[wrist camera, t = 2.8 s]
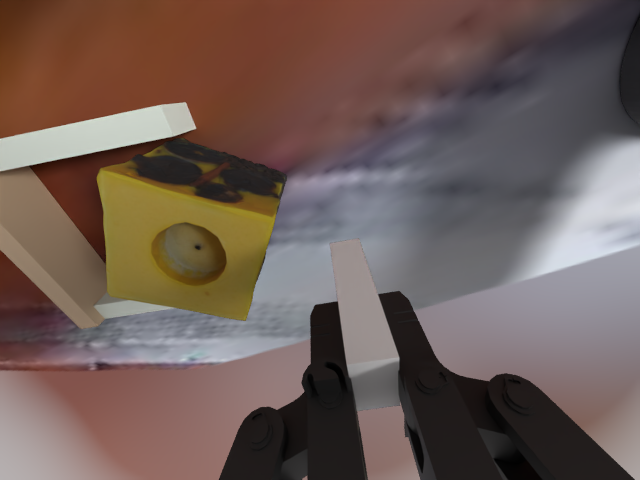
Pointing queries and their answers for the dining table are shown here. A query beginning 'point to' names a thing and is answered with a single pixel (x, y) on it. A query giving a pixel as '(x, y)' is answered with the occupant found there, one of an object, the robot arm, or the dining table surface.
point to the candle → (188, 227)
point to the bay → (54, 224)
